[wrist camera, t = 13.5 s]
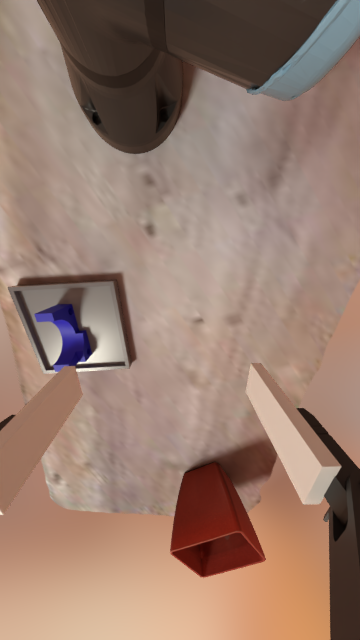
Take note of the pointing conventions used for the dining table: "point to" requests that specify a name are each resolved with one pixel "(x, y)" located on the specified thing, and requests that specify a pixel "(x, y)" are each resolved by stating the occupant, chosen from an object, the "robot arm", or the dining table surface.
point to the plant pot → (212, 525)
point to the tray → (91, 315)
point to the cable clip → (67, 335)
